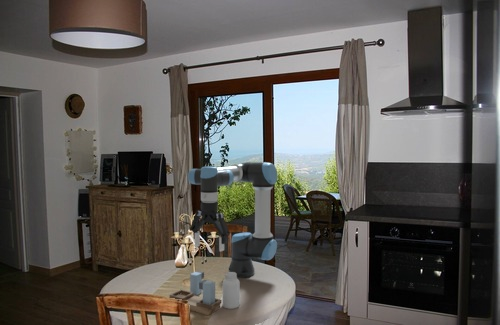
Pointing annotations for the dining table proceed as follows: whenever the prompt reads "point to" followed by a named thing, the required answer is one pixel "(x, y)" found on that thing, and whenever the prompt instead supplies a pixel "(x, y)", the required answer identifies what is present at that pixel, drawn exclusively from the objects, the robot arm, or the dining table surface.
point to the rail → (196, 302)
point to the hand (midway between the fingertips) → (209, 248)
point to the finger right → (196, 282)
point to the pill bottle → (231, 291)
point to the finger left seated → (208, 291)
